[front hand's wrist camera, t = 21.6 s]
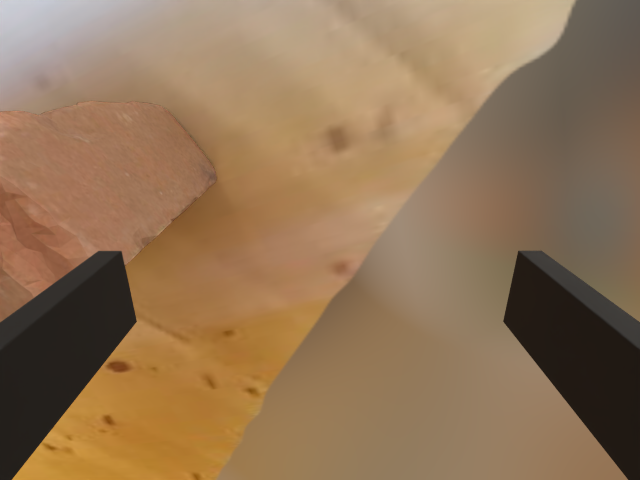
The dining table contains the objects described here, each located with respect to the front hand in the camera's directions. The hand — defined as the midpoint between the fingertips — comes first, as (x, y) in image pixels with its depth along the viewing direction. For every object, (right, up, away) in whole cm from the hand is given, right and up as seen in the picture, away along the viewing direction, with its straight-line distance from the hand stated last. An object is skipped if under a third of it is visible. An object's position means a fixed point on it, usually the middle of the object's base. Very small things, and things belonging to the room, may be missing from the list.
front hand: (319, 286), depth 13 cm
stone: (-23, +8, +33) cm, 41 cm away
